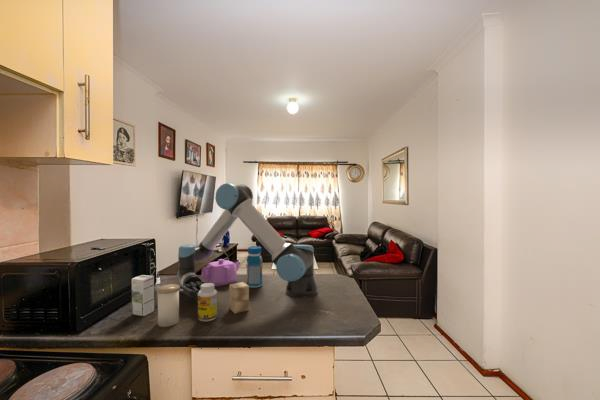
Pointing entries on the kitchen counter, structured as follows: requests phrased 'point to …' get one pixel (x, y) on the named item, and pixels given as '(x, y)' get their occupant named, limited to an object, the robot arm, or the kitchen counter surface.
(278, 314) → the kitchen counter surface
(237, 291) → the beech block
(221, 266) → the teakettle
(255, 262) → the beverage bottle
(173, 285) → the cream jar
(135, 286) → the syrup box
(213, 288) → the supplement bottle
